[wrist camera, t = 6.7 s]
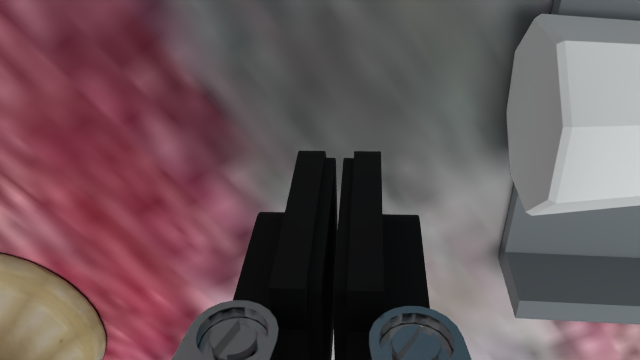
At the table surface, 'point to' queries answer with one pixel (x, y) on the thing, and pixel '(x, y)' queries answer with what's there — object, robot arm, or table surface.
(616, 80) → the pepper shaker
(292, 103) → the table surface
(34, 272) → the hand bell
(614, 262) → the tray
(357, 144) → the table surface
